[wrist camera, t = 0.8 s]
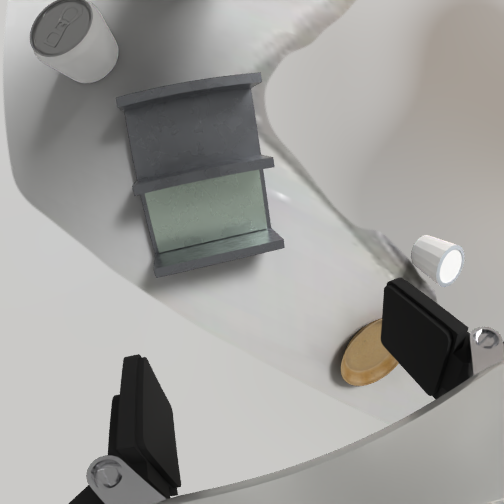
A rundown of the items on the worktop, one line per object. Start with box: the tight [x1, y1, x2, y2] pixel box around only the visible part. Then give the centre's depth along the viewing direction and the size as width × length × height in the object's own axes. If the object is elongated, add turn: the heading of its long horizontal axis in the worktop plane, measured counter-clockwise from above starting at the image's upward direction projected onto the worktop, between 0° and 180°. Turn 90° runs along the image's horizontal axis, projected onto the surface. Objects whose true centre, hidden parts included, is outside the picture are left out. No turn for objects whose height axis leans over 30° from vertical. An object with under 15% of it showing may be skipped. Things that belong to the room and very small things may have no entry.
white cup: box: [411, 235, 464, 287], centre depth 44 cm, size 7×7×7 cm
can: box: [30, 0, 119, 83], centre depth 21 cm, size 6×6×12 cm
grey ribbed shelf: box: [116, 73, 284, 278], centre depth 32 cm, size 20×14×6 cm
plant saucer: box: [341, 318, 399, 386], centre depth 51 cm, size 15×15×3 cm
